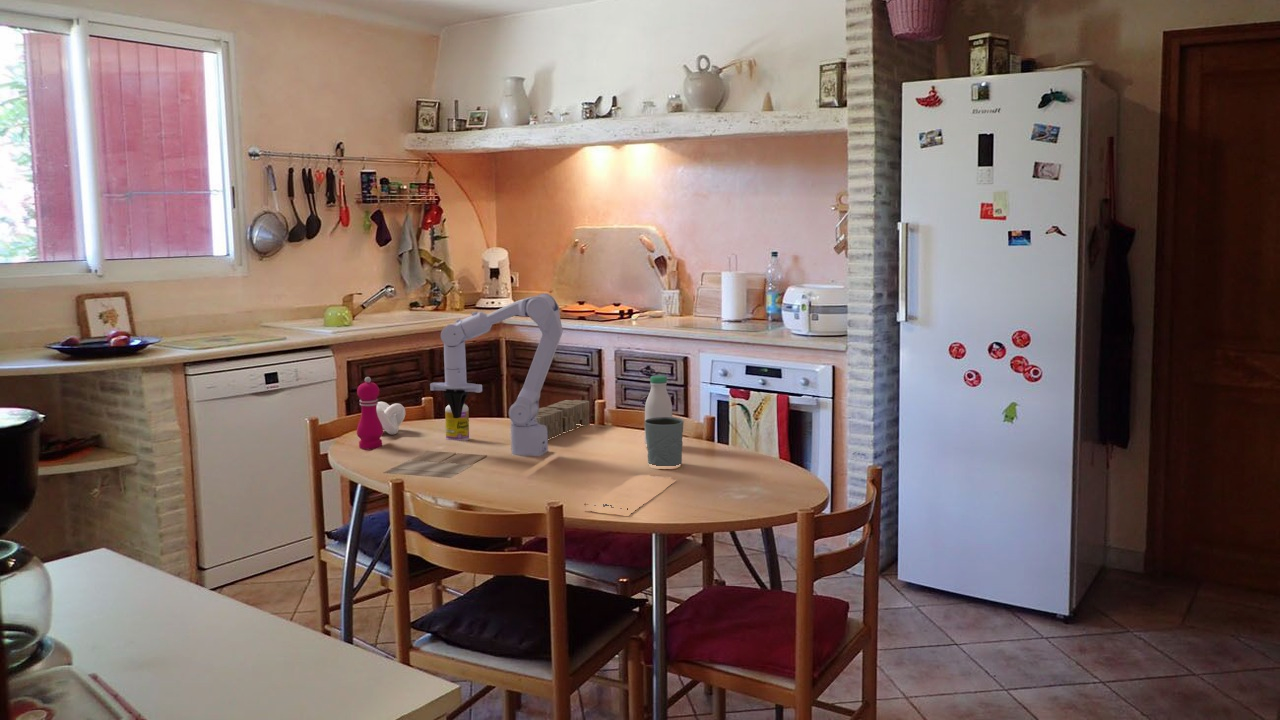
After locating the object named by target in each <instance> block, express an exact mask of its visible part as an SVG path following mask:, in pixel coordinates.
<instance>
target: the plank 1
mask: <svg viewBox="0 0 1280 720" xmlns="http://www.w3.org/2000/svg"><path fill="white" fill-rule="evenodd" d="M455 454H457V452H450V451H449V452H447V451H438V450H437V451H436V450H427V451H425V452H423V453H422V454H420V455H417V456H416V457H414V458H412V459H411V460H413V461H427V462H440V463H442V462H444V461H445V460H447V459H449V458H450V457H452V456H454V455H455Z"/></svg>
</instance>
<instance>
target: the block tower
mask: <svg viewBox="0 0 1280 720" xmlns="http://www.w3.org/2000/svg"><path fill="white" fill-rule="evenodd" d="M535 417H536V419H537V420H538V424H540V425H545V426H546V428H547V435H548V439H550V438H552V437H555V436H557V435H559V434H562V433H563V432H567V431H569V430H572V429H576V428H577V427H580V425H576V424H581V425H586V426H589V425H590V401H589V400H580V399H573V400H570V399H565V400H561V401H558V402H555V403H552V404H550V405H547V406H546V407H545V406H543V407H539V411H538V413H537V415H536V416H535ZM583 427H584V426H581V427H580V428H583ZM576 430H577V429H576ZM563 434H564V433H563Z"/></svg>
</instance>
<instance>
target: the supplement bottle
mask: <svg viewBox="0 0 1280 720" xmlns="http://www.w3.org/2000/svg"><path fill="white" fill-rule="evenodd" d="M444 409H445V410H444V411H445V413H444V415H445V416H444V417H445V440H446V441H459V442H462V441H463V442H467V441H468V440H469V439H470V418H469V415H470V414H469V413H470V412H469V410H470V409H469V407H468V405H467V404H466V403H464V405H463V409H462V413H461V417H460V418H453V414H452V411H451V408H450V405H449V404H448V405H447V406H446V407H445V408H444Z"/></svg>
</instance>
